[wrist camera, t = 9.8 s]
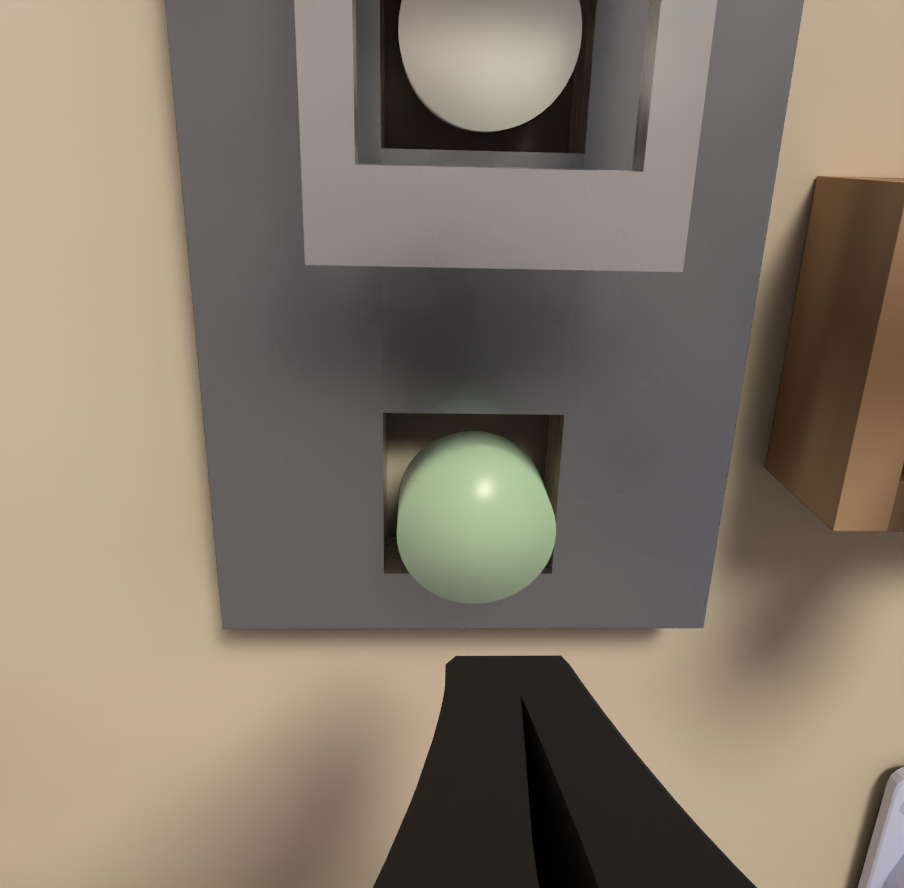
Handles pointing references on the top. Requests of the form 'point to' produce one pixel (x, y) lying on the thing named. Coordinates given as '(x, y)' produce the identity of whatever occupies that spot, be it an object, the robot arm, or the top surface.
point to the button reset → (489, 57)
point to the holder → (847, 360)
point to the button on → (474, 518)
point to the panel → (473, 302)
